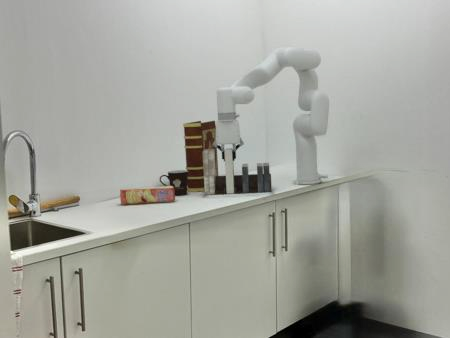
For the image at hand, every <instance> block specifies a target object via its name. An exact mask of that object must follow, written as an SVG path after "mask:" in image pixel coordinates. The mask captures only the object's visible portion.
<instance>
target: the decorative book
mask: <svg viewBox="0 0 450 338" xmlns="http://www.w3.org/2000/svg"><path fill="white" fill-rule="evenodd" d="M182 127H183V133H184V136H183V139H184V149H185V165H186V166H185V170H187V171H188V183H187V192H190V193H195V192H196V193H198V192H205V187H204V169H203V151H204V150H205V149H214V153H215V171H216V176H219V163H218V162H219V160H218V148H216V147H214V146H213V143H214V141H215V139H216V121H215V120H210V121H205V122H202V121H201V120H197V121H192V122H186V123H185V122H184V123H182Z"/></svg>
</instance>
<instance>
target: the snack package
mask: <svg viewBox="0 0 450 338" xmlns="http://www.w3.org/2000/svg"><path fill="white" fill-rule="evenodd" d="M119 196H120V205H122V206H126V205H137V204H155V203H174V202H175V199H176V196H175V190H174V187H173V186H170V185H167V186H164V185H162V186H157V185H156V186H155V185H153V186H137V187H136V186H135V187H133V186H132V187H121V188H120V190H119Z"/></svg>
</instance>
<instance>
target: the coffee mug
mask: <svg viewBox="0 0 450 338" xmlns="http://www.w3.org/2000/svg"><path fill="white" fill-rule="evenodd" d="M162 177H166V178H167V180H168V182H169V186H173V187H174V190H175V197H181V196H186V195H188V191H187V188H188V184H187V183H188V171H187V169H180V170H170V171H167V174H162V175H161V176H159V182H160V183H161V185H162V186H168V185H167V184H166V183H164V182H163V181H162Z"/></svg>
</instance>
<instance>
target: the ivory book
mask: <svg viewBox="0 0 450 338" xmlns="http://www.w3.org/2000/svg"><path fill="white" fill-rule="evenodd" d="M224 150H225V151H224V153H225V161H224V168H225V170H224V171H225V176H226V189H227V195H233V194H232V193H234V191H235V183H234V175H235V165H234V161H233V158H232V151H233V147H227V148H224Z"/></svg>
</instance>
